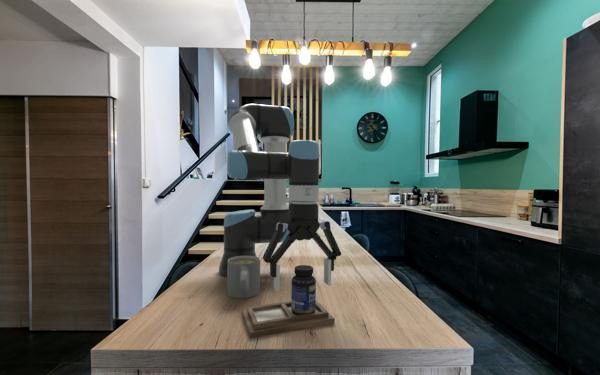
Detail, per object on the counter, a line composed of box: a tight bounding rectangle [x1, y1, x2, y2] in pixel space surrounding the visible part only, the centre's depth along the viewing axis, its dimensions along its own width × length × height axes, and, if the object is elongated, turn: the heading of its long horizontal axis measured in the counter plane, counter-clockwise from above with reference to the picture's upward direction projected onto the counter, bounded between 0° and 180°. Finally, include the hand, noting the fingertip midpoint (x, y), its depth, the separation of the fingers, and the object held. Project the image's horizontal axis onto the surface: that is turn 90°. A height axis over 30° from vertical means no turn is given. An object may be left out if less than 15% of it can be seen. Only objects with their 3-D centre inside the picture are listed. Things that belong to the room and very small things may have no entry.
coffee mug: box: [226, 255, 261, 299], centre depth 86 cm, size 13×10×10 cm
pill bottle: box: [290, 264, 317, 315], centre depth 71 cm, size 6×6×11 cm
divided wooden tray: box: [242, 300, 335, 339], centre depth 70 cm, size 12×20×2 cm, turn 109°
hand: (302, 286), depth 71 cm, fingers open, 13 cm apart
